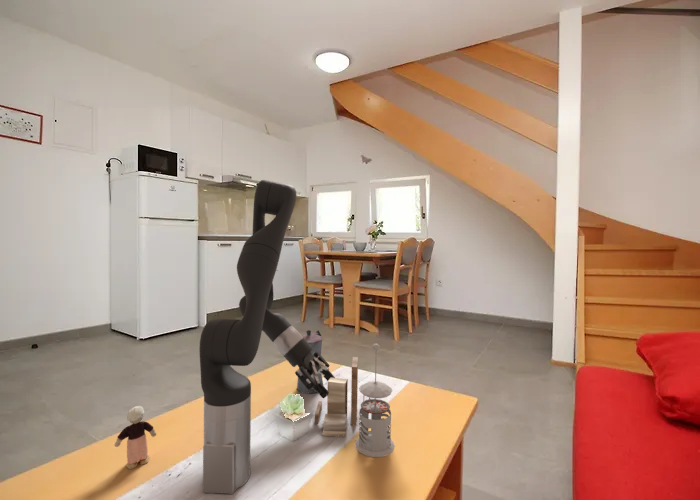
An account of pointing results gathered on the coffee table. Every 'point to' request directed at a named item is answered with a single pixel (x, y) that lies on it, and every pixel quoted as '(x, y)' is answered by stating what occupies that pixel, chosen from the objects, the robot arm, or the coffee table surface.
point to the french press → (375, 419)
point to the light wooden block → (337, 396)
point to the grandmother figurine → (136, 437)
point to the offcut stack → (335, 425)
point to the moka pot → (316, 344)
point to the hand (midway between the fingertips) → (330, 389)
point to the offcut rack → (353, 396)
